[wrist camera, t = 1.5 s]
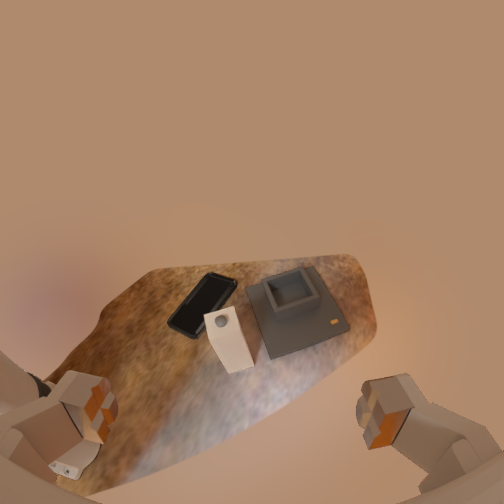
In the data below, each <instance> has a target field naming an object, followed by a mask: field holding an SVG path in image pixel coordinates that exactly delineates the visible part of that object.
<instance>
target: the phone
mask: <svg viewBox="0 0 504 504" xmlns="http://www.w3.org/2000/svg"><path fill="white" fill-rule="evenodd" d="M236 287H237V283H236V281H235V280H233V279H230V278H227V277H224V276H221V275H218V274H215V273H207V274H206V275H205V276H204V277H203V278H202V279H201V281H200V282H199V283H198V284H197V285H196V287H195V288H194V289H193V290H192V291H191V293H190V294H189V295H188V296H187V297H186V299H185V300H184V301H183V302H182V303H181V305H180V306H179V307H178V308H177V309H176V311H175V312H174V313H173V314H172V315H171V317H170V318H169V319H168V321H167V324H168V326H169V327H170V328H172V329H174V330H176V331H177V332H179V333H181V334H183V335H185V336H187V337H189V338H191V339H198V338H199V337H200V336H201V335H202V333H203V332H204V331H205V329H206V324H205V319H204V315H205V314H208V313H212V312H215V311H218V310H220V309H221V308H222V306H223V305H224V304H225V302H226V301H227V300H228V298H229V297H230V296H231V294H232V293H233V292H234V290H235V289H236Z"/></svg>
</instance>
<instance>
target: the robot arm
mask: <svg viewBox="0 0 504 504" xmlns="http://www.w3.org/2000/svg"><path fill="white" fill-rule="evenodd" d="M110 389H111V384H110V382H109V380H108V379H106V378H104V377H99V376H95V375H90V374H86V373H81V372H77V371H73V370H69V371H67V372H66V373H65V374H64V376H63V377H62V378H61V379H60V381H59V382H58V383H57V385H55V384H54V383H52V382H50V381H47V382H43V381H42V380H41V379H39V378H38V377H36V376H34V375H33V374H30V373H28V372H25V371H24V370H23V369H21V368H20V367H19V366H18V365H17V364H15V363H14V362H13V361H12V360H11V359H9V358H8V357H7V356H6V355H5V354H4V353H3V352H2V351H0V504H101V503H98V502H95V501H92V500H89V499H87V498H84V497H82V496H79V495H77V494H74V493H72V492H70V491H67V490H65V489H63V488H61V487H58V486H56V485H54V483H55V481H56V479H57V476H56V473H57V474H60V475H62V476H65V477H68V478H70V479H73V480H78V479H79V478H80V476H81V474H82V472H83V469H84V468H85V467H86V466H88V465H89V464H90V463H91V462H92V461H93V460H94V458H95V457H96V455H97V453H98V451H99V448H100V444H104V443H105V441H106V439H107V437H108V435H109V432H110V428H109V425H110V424H111V423H113V422H114V421H115V419H116V417H117V414H118V403H117V399H116V397H115V396H114V395H113V394H112V393H111V392H110ZM361 391H362V393H363V395H362V396H361V397H360V398H359V399H358V402H357V405H356V417H357V421H358V424H359V426H361V427H362V428H364V429H365V431H364V434H363V437H364V440H365V442H366V445H367V448H368V450H371V449H376V448H381V447H385V446H389V445H392V447H394V448H395V449H396V450H398V451H399V452H400V453H402V454H403V455H404V456H405V457H407V458H408V459H410V460H411V461H412V462H413V463H415V464H416V465H418V466H419V467H420V468H422V469H423V470H424V471H426V472H427V473H429V474H428V475H427V476H426V477H425V479H424V480H423V481H422V482H421V483H420V485H419V486H418V487H419V490H420V492H421V495H419V496H417V497H414V498H411V499H409V500H406V501H403V502H400V503H397V504H504V450H503V451H502V450H501V449H500V447H499V446H498V444H497V443H496V441H495V440H494V439H493V437H492V436H491V434H490V433H489V431H488V430H487V429H486V427H485V426H482V425H480V424H478V423H476V422H474V421H471V420H469V419H467V418H465V417H462V416H460V415H458V414H456V413H454V412H451V411H449V410H447V409H445V408H443V407H441V406H438V405H437V404H434V403H428V401H427V400H426V399H425V397H424V396H423V394H422V393H421V391H420V390H419V388H418V387H417V385H416V384H415V382H414V381H413V380H412V378H411V377H410V375H409V374H407V373H404V374H399V375H395V376H390V377H385V378H380V379H374V380H368V381H365V382H364V384H363V385H362V389H361Z"/></svg>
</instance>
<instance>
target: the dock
mask: <svg viewBox="0 0 504 504" xmlns="http://www.w3.org/2000/svg"><path fill="white" fill-rule="evenodd" d="M261 281H262V283H259V284H256V285H253V286H249V287H246V290H247V293H248V296H249V299H250V302H251V305H252V308H253V311H254V313H255V316H256V319H257V322H258V325H259V328H260V330H261V333H262V336H263V339H264V342H265V345H266V347H267V350H268V353H269V356H270V358H271V360H272V359H275V358H278V357H281V356H284V355H287V354H289V353H292V352H295V351H298V350H301V349H303V348H306V347H309V346H311V345H314V344H317V343H319V342H322V341H324V340H327V339H330V338H332V337H335V336H337V335H339V334H342V333H344V332H347V331H349V330H350V326H349V325H348V323H347V321H346V320H345V318H344V316H343V315H342V313H341V311H340V310H339V308H338V306H337V305H336V303H335V301H334V300H333V298H332V296H331V295H330V293H329V291H328V290H327V288H326V286H325V285H324V283H323V282H322V280H321V278H320V277H319V275H318V273H317V272H316V270H315V269H314V267H313V266H311V267H308V268H305V269H303V267H302V266H301V267H298V268H295V269H292V270H289V271H286V272H283V273H280V274H277V275H274V276H271V277H267V278H264V279H261Z"/></svg>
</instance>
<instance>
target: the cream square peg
mask: <svg viewBox="0 0 504 504" xmlns="http://www.w3.org/2000/svg"><path fill="white" fill-rule="evenodd" d="M204 319H205V324H206V329H207V334H208V339H209V341H210V343H211V345H212V347H213V348H214V350H215V352H216V354H217V355H218V357H219V359H220V360H221V362H222V364H223V365H224V367H225V369H226V370H227V372H228V374H230V373H233V372H237V371H240V370H244V369H247V368H250V367H254V366H255V365H254V362H253V359H252V356H251V353H250V350H249V346H248V343H247V341H246V338H245V335H244V333H243V330H242V327H241V325H240V322H239V319H238V316H237V314H236V311H235V308H234V306H231V307H228V308H225V309H222V310H218V311H215V312H212V313H208V314H205V315H204Z"/></svg>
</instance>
